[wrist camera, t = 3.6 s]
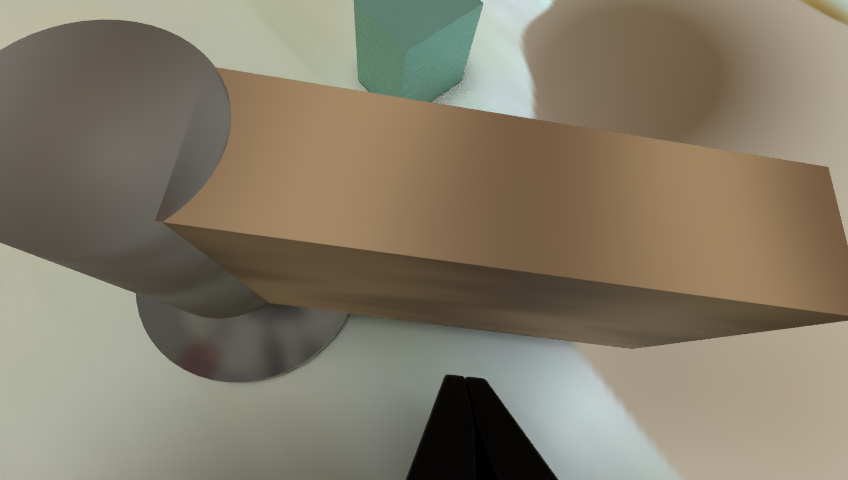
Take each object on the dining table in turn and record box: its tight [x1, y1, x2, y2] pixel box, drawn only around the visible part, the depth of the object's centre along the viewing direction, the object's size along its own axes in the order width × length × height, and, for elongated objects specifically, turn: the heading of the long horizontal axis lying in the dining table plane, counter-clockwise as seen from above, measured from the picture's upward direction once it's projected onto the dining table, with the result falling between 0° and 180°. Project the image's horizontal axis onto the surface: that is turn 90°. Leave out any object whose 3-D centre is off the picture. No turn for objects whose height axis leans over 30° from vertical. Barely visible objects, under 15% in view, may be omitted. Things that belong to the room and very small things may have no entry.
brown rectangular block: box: [0, 20, 848, 349], centre depth 10 cm, size 16×4×7 cm, turn 84°
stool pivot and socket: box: [136, 0, 483, 382], centre depth 16 cm, size 11×17×4 cm, turn 124°
